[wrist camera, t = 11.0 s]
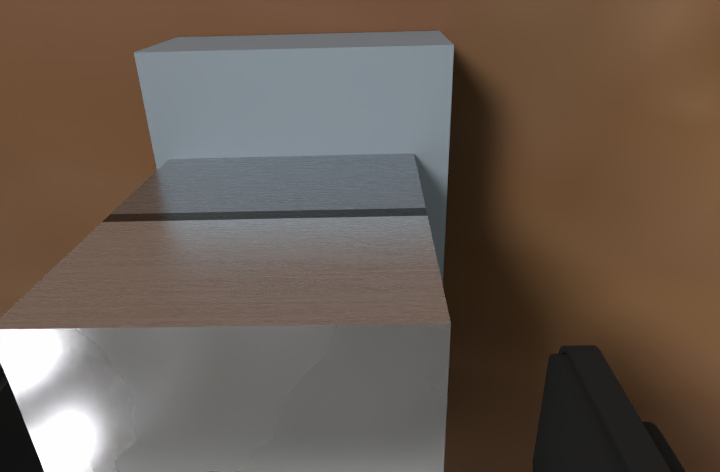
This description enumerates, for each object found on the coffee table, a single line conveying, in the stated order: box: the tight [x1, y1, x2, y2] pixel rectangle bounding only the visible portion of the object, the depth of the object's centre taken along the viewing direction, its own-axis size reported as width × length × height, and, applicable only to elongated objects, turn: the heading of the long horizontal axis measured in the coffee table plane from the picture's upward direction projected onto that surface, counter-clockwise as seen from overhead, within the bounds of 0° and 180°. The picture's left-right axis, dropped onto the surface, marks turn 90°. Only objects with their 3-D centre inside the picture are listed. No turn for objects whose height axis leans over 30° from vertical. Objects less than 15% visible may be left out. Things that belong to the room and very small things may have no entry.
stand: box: [134, 31, 454, 285], centre depth 14 cm, size 6×12×2 cm, turn 1°
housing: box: [0, 153, 451, 472], centre depth 10 cm, size 8×5×7 cm, turn 2°
